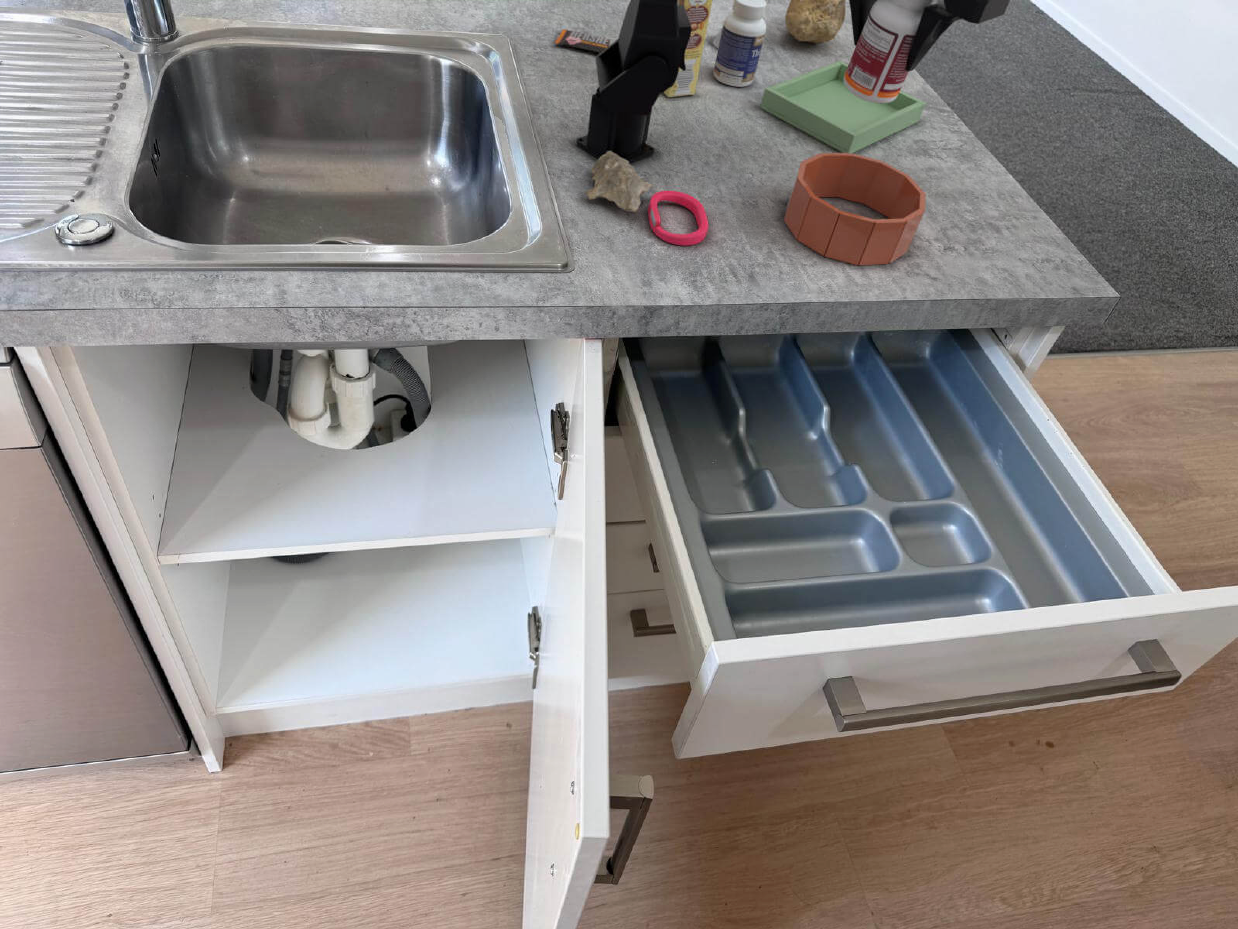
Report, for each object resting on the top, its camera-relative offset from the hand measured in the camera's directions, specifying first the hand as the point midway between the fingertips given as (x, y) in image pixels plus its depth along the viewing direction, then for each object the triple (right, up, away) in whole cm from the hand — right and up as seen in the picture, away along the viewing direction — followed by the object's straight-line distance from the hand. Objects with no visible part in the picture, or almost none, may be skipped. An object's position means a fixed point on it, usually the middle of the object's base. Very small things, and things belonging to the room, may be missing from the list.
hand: (883, 57), depth 93 cm
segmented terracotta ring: (-4, -18, +1) cm, 18 cm away
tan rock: (0, +19, +35) cm, 40 cm away
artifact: (-27, -18, -6) cm, 32 cm away
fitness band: (-22, -17, -4) cm, 28 cm away
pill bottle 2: (-1, -2, +3) cm, 4 cm away
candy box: (-22, +6, +19) cm, 30 cm away
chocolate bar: (-31, +12, +23) cm, 40 cm away
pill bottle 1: (-13, +7, +22) cm, 27 cm away
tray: (0, +2, +19) cm, 20 cm away
